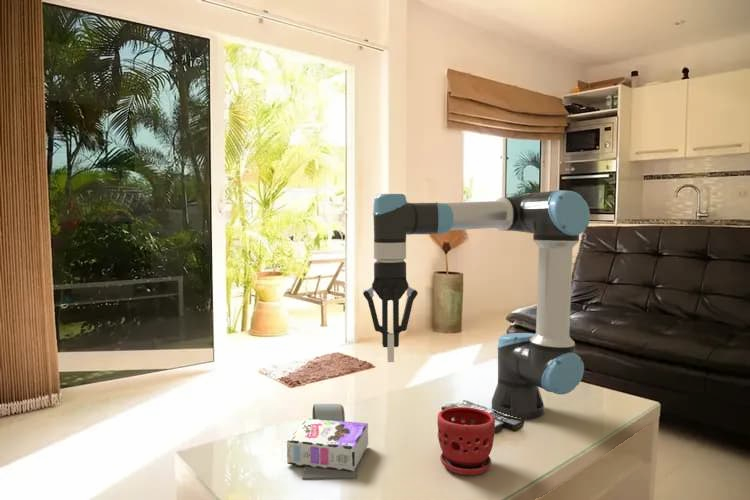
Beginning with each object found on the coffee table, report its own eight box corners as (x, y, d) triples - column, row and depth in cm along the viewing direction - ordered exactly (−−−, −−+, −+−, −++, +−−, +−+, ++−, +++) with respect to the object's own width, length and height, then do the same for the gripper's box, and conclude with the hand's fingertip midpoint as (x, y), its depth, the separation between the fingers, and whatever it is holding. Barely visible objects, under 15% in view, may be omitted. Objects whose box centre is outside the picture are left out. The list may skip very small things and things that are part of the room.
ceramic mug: (346, 435, 134) (345, 406, 133) (315, 438, 132) (315, 409, 131) (338, 420, 144) (338, 394, 144) (310, 423, 142) (309, 396, 141)
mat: (357, 445, 127) (357, 444, 127) (356, 478, 111) (356, 476, 111) (309, 446, 127) (309, 445, 127) (302, 479, 111) (302, 477, 111)
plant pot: (505, 474, 113) (505, 422, 112) (451, 483, 109) (452, 429, 108) (477, 449, 125) (477, 402, 124) (428, 456, 121) (428, 408, 121)
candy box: (354, 447, 113) (285, 440, 116) (355, 472, 113) (286, 465, 116) (368, 422, 126) (306, 417, 130) (368, 445, 127) (306, 439, 130)
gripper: (416, 259, 120) (416, 355, 122) (361, 259, 120) (362, 356, 122) (419, 261, 113) (420, 364, 114) (362, 262, 113) (363, 365, 114)
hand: (390, 360), depth 118 cm, fingers closed
